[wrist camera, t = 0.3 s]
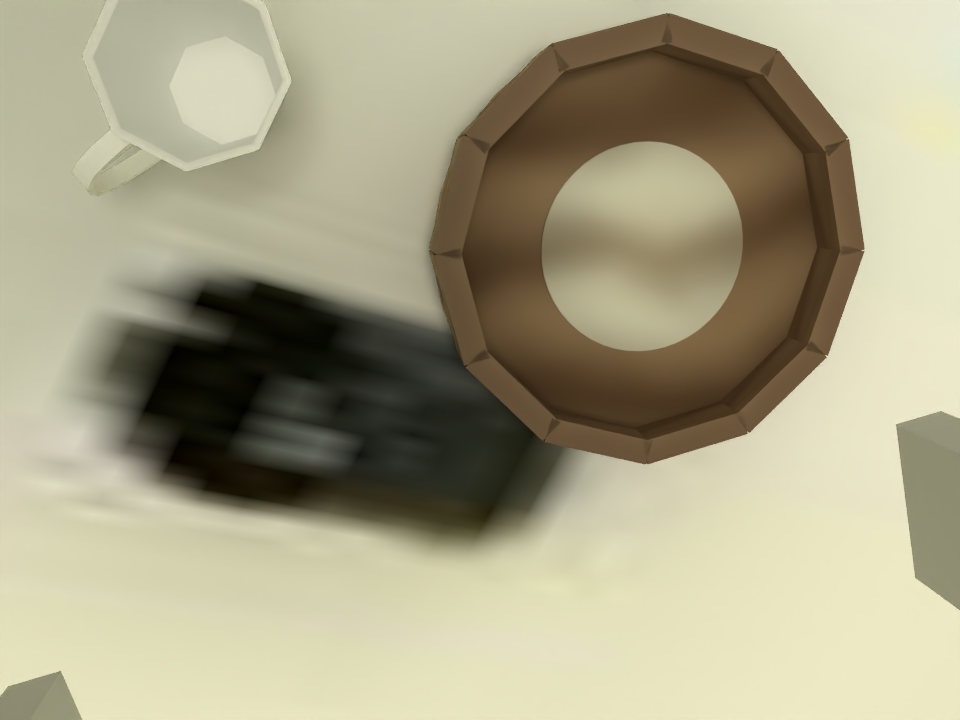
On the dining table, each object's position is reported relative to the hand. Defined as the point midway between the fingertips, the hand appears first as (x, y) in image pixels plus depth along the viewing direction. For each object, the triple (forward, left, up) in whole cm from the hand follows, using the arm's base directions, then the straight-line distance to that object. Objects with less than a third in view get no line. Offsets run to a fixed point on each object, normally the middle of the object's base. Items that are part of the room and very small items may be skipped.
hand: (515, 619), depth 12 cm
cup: (-12, -7, -28) cm, 31 cm away
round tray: (-1, +11, -27) cm, 30 cm away
